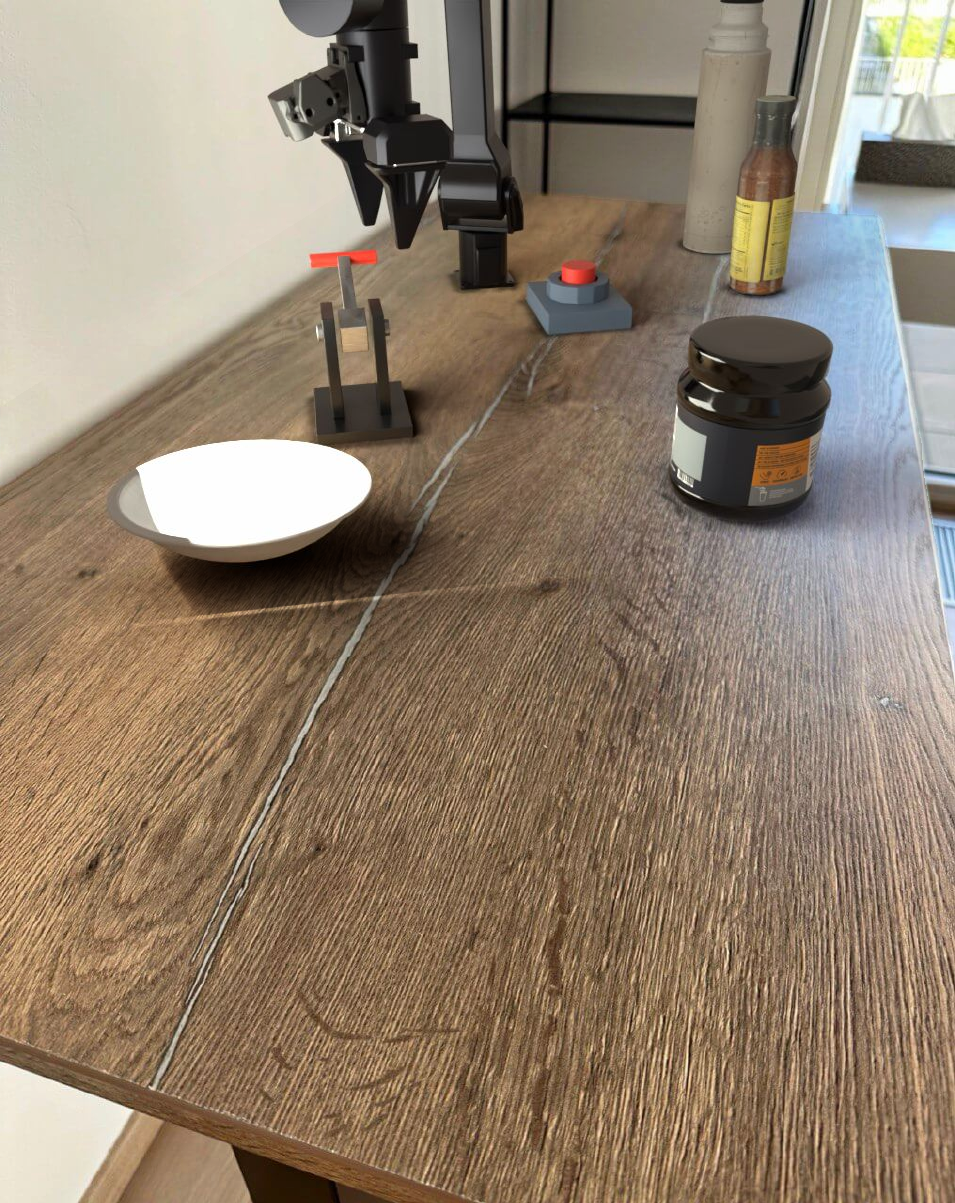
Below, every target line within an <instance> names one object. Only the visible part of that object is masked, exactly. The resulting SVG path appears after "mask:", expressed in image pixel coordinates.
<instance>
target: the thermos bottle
mask: <svg viewBox="0 0 955 1203" xmlns="http://www.w3.org/2000/svg"><path fill="white" fill-rule="evenodd" d="M719 2H720V3H721V7H720V9H719V17H718V21H717V23H715V24H714V25H713V26H711V27H710V30H709V37H708V38H707V40H708V46H707V47H705V48H703V49H702V51H701V58H700V67H699V68H700V69H699V78H698V88H697V96H696V97H697V98H696V107H695V109H696V110H695V119H694V127H693V128H694V129H693V138H692V147H691V148H692V149H691V157H690V158H691V159H690V172H689V173H690V174H689V183H688V190H687V198H686V207H685V216H684V226H683V227H684V228H683V237H682V245H683V247H684V248H686V249H688V250H690V251H693V252H697V253H701V254H702V253H703V254H715V255H717V254H718V255H720V254H731V250H732V237H733V226H734V215H735V206H736V196H737V189H738V181H739V174H740V167H741V163H742V162H743V160H744V159H745V157H746V155H747V154H748V152H749V150H750V148H751V147H752V145H753V137H754V132H755V122H756V113H755V105H756V100H757V98H759V97H762V96H767V88H768V82H769V74H770V66H771V60H772V53H773V52H772V49H771V48H769V47H768V46H767V44H768V38H769V37H770V35H769V27H768V25H766V24H765V23H764V22H763V14H764V7H763V5H764V4H763V3H764V2H765V0H719Z"/></svg>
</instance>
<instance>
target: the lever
mask: <svg viewBox="0 0 955 1203" xmlns="http://www.w3.org/2000/svg"><path fill="white" fill-rule="evenodd" d="M376 264H378V252H377V250H376V249H362V250H348V251H333V252H317V253H309V265H310V268H311V269H320V268H333V267H334V268H335V267H338V268H337V269H338V276H339V283H340V292H341V298H342V306H343V308H338V309H337V316H338V325H339V335H340V343H341V352H342V354H346V353H347V354H348V353H359V352H360V353H361V352H369V351H370V346H369V332H368V324H367V317H366V310H365V307H362V306H361V307H358V305H357V298H356V292H355V284H354V283H355V282H354V277H353V271H352V266H361V265H362V266H363V265H376Z"/></svg>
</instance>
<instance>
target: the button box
mask: <svg viewBox="0 0 955 1203" xmlns="http://www.w3.org/2000/svg"><path fill="white" fill-rule="evenodd" d="M610 280H611V278H610V277H609V276H608V275H607V273H605V272H603V271H598V270H596V275H595V282H592V283H589V284H569V283H565V282H562V269H561V270H558V271H554V272H551V273H550V274H549V275H548V276H547V278H546V280H541V281H540V280H539V281H527V282H526V303H527V304H528V306H529V308H530V309H531V311H532V312H533V314H534V315H535V317H536V318H537V321H538V322H539V323H540V325H541V326H542V328H543V329H544V331H545V332H546V334H547V335H548V336H549V335H550V336H551V335H562V334H574V333H575V334H577V333H585V332H586V333H587V332H597V331H598V332H601V331H610V330H624V329H625V330H626V329H632V322H633V311H634V310H633V307H632V306H631V304H629V303H628V301H627V300H626V299H625V298H624V297H623V296H622V295H621V293H619V291H618V290H617V289H616V288H615V287H614V286H613V285H612V284H611V282H610Z"/></svg>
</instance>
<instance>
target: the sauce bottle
mask: <svg viewBox="0 0 955 1203" xmlns="http://www.w3.org/2000/svg"><path fill="white" fill-rule="evenodd" d="M796 108H797V98H796V97H795V96H793V95H785V94H768V95H766V96H762V97H759V98H757V100H756V105H755V113H756V122H755V132H754V137H753V145H752V147H751V148H750V150H749V152H748V154H747V155H746V157H745V159H744V160H743V162H742V163H741V167H740V174H739V181H738V189H737V196H736V206H735V215H734V226H733V237H732V250H731V253H730V262H729V272H728V273H729V286H730V288H731V289H732V290H733V291H735V292H737V293H740V294H743V295H754V296H766V295H773V294H775V293H777V292H779V291H781V290H782V287H783V284H784V276H785V275H786V271H787V263H788V254H789V248H790V247H789V246H790V240H791V232H792V224H793V215H794V207H795V200H796V199H795V198H796V184H797V183H796V182H797V176H798V161H797V158H796V157H795V154H794V150H793V147H792V145H791V141H792V140H791V139H792V138H791V132H792V122H793V116H794V114H795V112H796Z"/></svg>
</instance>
